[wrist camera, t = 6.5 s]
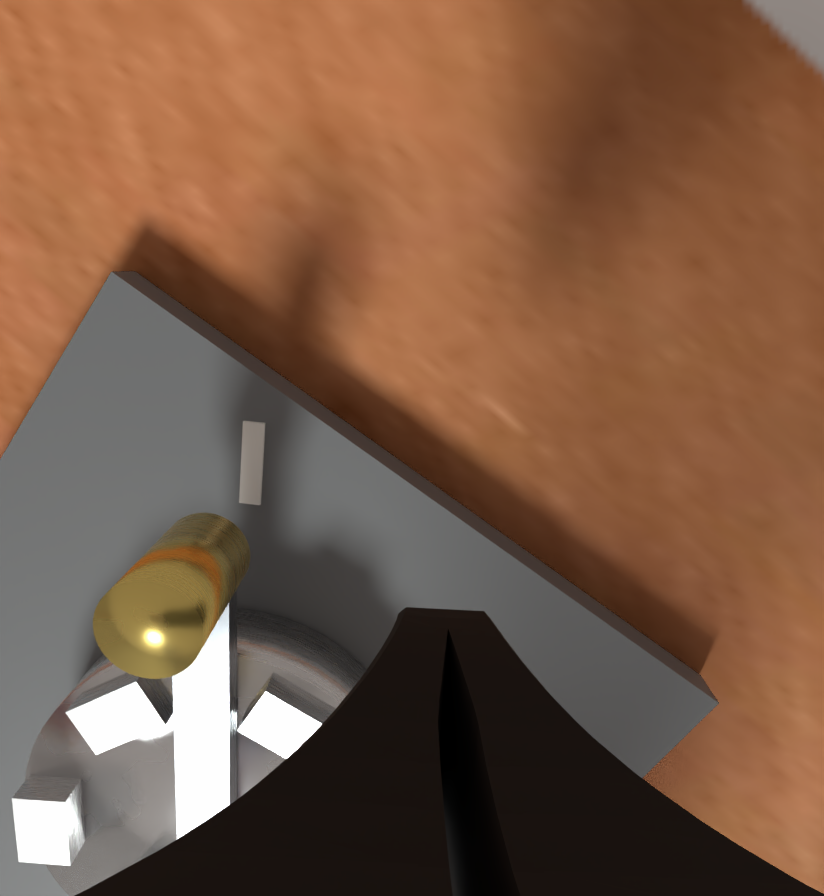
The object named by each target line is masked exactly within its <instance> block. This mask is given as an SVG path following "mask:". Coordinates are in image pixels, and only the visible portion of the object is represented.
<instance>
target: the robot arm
mask: <svg viewBox="0 0 824 896" xmlns="http://www.w3.org/2000/svg"><path fill="white" fill-rule="evenodd" d="M75 896H824V894H823V893H821V892H819V891H817V890H815V889H813V888H811V887H809V886H807V885H805V884H804V883H802V882H800V881H798V880H797V879H795V878H793V877H791V876H789V875H788V874H786V873H784V872H783V871H781V870H779V869H778V868H776V867H774V866H773V865H771V864H769V863H768V862H766V861H764V860H763V859H761V858H759V857H758V856H756V855H754V854H753V853H751V852H749V851H748V850H746V849H744V848H743V847H741V846H739V845H738V844H736V843H734V842H733V841H731V840H730V839H728V838H727V837H725V836H724V835H722V834H720V833H719V832H717V831H716V830H714V829H713V828H711V827H710V826H708V825H707V824H705V823H703V822H702V821H700V820H699V819H697V818H696V817H695V816H693V815H692V814H690V813H689V812H688V811H686V810H685V809H683V808H682V807H681V806H679V805H678V804H676V803H675V802H674V801H672V800H671V799H669V798H668V797H667V796H665V795H664V794H662V793H661V792H660V791H658V790H657V789H655V788H654V787H653V786H651V785H650V784H649V783H648V782H646V781H645V780H644V779H642V778H641V777H640V776H638V775H637V774H636V773H635V772H633V771H632V770H631V769H630V768H628V767H627V766H626V765H625V764H624V763H623V762H621V761H620V760H619V759H618V758H617V757H615V756H614V755H613V754H612V753H611V752H610V751H608V750H607V749H606V748H605V747H604V746H603V745H601V744H600V743H599V742H598V741H597V740H596V739H594V738H593V737H592V736H591V735H590V734H589V733H588V732H587V731H586V730H585V729H584V728H583V727H582V726H580V725H579V724H578V723H577V722H576V721H575V720H574V719H573V718H572V716H571V715H570V714H569V713H568V712H567V711H566V710H565V709H564V708H563V707H562V706H561V705H560V704H559V703H558V702H557V701H556V700H555V699H554V698H553V697H552V696H551V695H550V693H549V692H548V691H547V690H546V689H545V688H544V686H543V685H542V684H541V683H540V682H539V681H538V679H537V678H536V677H535V676H534V675H533V674H532V672H531V671H530V670H529V669H528V668H527V666H526V665H525V664H524V663H523V661H522V660H521V659H520V658H519V656H518V655H517V654H516V652H515V651H514V650H513V649H512V647H511V646H510V645H509V643H508V642H507V641H506V639H505V638H504V637H503V635H502V634H501V632H500V631H499V630H498V628H497V627H496V625H495V624H494V623H493V621H492V620H491V618H490V617H489V616H488V615H487V614H486V613H485V611H472V610H453V609H433V608H413V607H406V608H404V609H403V610H402V611H401V612H400V613H398V616H397V619H396V622H395V624H394V626H393V628H392V630H391V632H390V634H389V636H388V638H387V639H386V641H385V643H384V644H383V646H382V648H381V649H380V651H379V652H378V654H377V655H376V657H375V658H374V660H373V661H372V663H371V664H370V666H369V667H368V668H367V670H366V671H365V673H364V674H363V676H362V677H361V678H360V680H359V681H358V682H357V683H356V685H355V686H354V687H353V688H352V690H351V691H350V692H349V693H348V695H347V696H346V697H345V698H344V699H343V701H342V702H341V703H340V704H339V706H338V707H337V708H336V709H335V710H334V712H333V713H332V714H331V715H330V716H329V717H328V718H327V719H326V720H325V721H324V722H323V724H322V725H321V726H320V727H319V728H318V729H317V730H316V731H315V732H314V733H313V734H312V735H311V736H310V737H309V738H308V739H307V740H306V741H305V742H304V743H303V744H302V745H301V746H300V747H299V748H298V749H297V750H296V751H294V752H293V753H292V754H291V755H290V756H289V757H288V758H287V759H285V760H284V761H283V762H282V763H281V764H280V765H278V766H277V767H276V768H275V769H274V770H273V771H271V772H270V773H269V774H268V775H267V776H266V777H265V778H263V779H262V780H261V781H260V782H259V783H257V784H256V785H255V786H254V787H252V788H251V789H250V790H249V791H247V792H246V793H245V794H243V795H242V796H241V797H239V798H238V799H237V800H236V801H234V802H233V803H231V804H230V805H228V806H227V807H225V808H224V809H223V810H221V811H220V812H218V813H217V814H215V815H214V816H212V817H211V818H209V819H208V820H207V821H205V822H203V823H202V824H200V825H199V826H197V827H196V828H194V829H193V830H191V831H189V832H188V833H186V834H185V835H183V836H182V837H180V838H178V839H177V840H175V841H173V842H172V843H170V844H168V845H167V846H165V847H163V848H162V849H160V850H158V851H157V852H155V853H153V854H151V855H149V856H147V857H146V858H144V859H142V860H140V861H138V862H136V863H135V864H133V865H131V866H129V867H127V868H125V869H124V870H122V871H120V872H118V873H116V874H114V875H113V876H111V877H109V878H107V879H105V880H103V881H102V882H100V883H98V884H96V885H94V886H92V887H91V888H89V889H87V890H85V891H83V892H81V893H79V894H77V895H75Z"/></svg>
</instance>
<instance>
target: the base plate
mask: <svg viewBox="0 0 824 896" xmlns="http://www.w3.org/2000/svg"><path fill="white" fill-rule="evenodd" d="M194 513H212V514H216V515H219V516H222V517H224V518H226V519H228V520H229V521H231V522H232V523H234V524H235V525H236V526H237V527H238V528H239V529H240V530H241V531H242V533H243V534H244V536H245V538H246V540H247V542H248V545H249V549H250V564H249V568H248V570H247V572H246V574H245V576H244V578H243V579H242V581H241V583H240V585H239V586H238V588H237V609H244V610H251V611H259V612H263V613H267V614H271V615H275V616H279V617H283V618H286V619H288V620H291V621H293V622H296V623H299V624H301V625H304V626H306V627H308V628H310V629H312V630H314V631H316V632H318V633H320V634H321V635H323V636H325V637H327V638H328V639H330V640H331V641H333V642H334V643H336V644H337V645H338V646H340V647H341V648H343V649H344V650H346V651H347V652H348V653H349V654H350V655H351V656H352V657H353V658H355V659H356V660H357V661H358V662H359V663H360V664H361V665H362V666H363V667H364V668H365V669H366V670H367V668H368V667H369V666H370V664H371V663H372V661H373V660H374V658H375V657H376V655H377V654H378V652H379V651H380V649H381V648H382V646H383V644H384V643H385V641H386V639H387V638H388V636H389V634H390V632H391V630H392V628H393V626H394V624H395V622H396V619H397V616H398V613H400V612H401V611H402V610H403V609H404V608H406V607H413V608H433V609H453V610H472V611H485V613H486V614H487V615H488V616H489V617H490V618H491V620H492V621H493V623H494V624H495V625H496V627H497V628H498V630H499V631H500V632H501V634H502V635H503V637H504V638H505V639H506V641H507V642H508V643H509V645H510V646H511V647H512V649H513V650H514V651H515V652H516V654H517V655H518V656H519V658H520V659H521V660H522V661H523V663H524V664H525V665H526V666H527V668H528V669H529V670H530V671H531V672H532V674H533V675H534V676H535V677H536V678H537V679H538V681H539V682H540V683H541V684H542V685H543V686H544V688H545V689H546V690H547V691H548V692H549V693H550V695H551V696H552V697H553V698H554V699H555V700H556V701H557V702H558V703H559V704H560V705H561V706H562V707H563V708H564V709H565V710H566V711H567V712H568V713H569V714H570V715H571V716H572V718H573V719H574V720H575V721H576V722H577V723H578V724H579V725H580V726H582V727H583V728H584V729H585V730H586V731H587V732H588V733H589V734H590V735H591V736H592V737H593V738H594V739H596V740H597V741H598V742H599V743H600V744H601V745H603V746H604V747H605V748H606V749H607V750H608V751H610V752H611V753H612V754H613V755H614V756H615V757H617V758H618V759H619V760H620V761H621V762H623V763H624V764H625V765H626V766H627V767H628V768H630V769H631V770H632V771H633V772H635V773H636V774H637V775H638V776H640V777H641V778H643V777H644V776H645V775H646V774H647V773H648V772H649V771H650V770H651V769H652V768H653V767H654V766H655V765H656V764H657V763H658V762H659V761H660V760H661V759H662V758H663V757H664V756H665V755H666V754H667V753H668V752H669V751H670V750H671V749H673V748H674V747H675V746H676V745H677V744H678V743H679V742H680V741H681V740H682V739H683V738H684V737H685V736H686V735H687V734H688V733H689V732H690V731H691V730H692V729H693V728H694V727H695V726H696V725H697V724H698V723H699V722H700V721H701V720H702V719H703V718H704V717H705V716H706V715H707V714H708V713H709V712H710V711H711V710H712V709H713V708H715V707H716V706H717V705H718V704H719V702H718V701H717V699H716V698H715V696H714V695H713V693H712V692H711V690H710V689H709V687H708V686H707V684H706V683H705V681H704V680H703V678H702V677H701V675H699V674H698V673H697V672H695V671H694V670H692V669H691V668H690V667H688V666H687V665H685V664H684V663H683V662H681V661H680V660H678V659H677V658H676V657H674V656H673V655H671V654H670V653H669V652H667V651H666V650H664V649H663V648H662V647H660V646H659V645H657V644H656V643H655V642H653V641H652V640H650V639H649V638H648V637H646V636H645V635H643V634H642V633H641V632H639V631H638V630H636V629H635V628H634V627H632V626H631V625H629V624H628V623H627V622H625V621H624V620H622V619H621V618H620V617H618V616H617V615H615V614H614V613H613V612H611V611H610V610H608V609H607V608H606V607H604V606H603V605H601V604H600V603H599V602H597V601H596V600H594V599H593V598H592V597H590V596H589V595H587V594H586V593H585V592H583V591H582V590H580V589H579V588H578V587H576V586H575V585H573V584H572V583H571V582H569V581H568V580H566V579H565V578H564V577H562V576H561V575H559V574H558V573H557V572H555V571H554V570H552V569H551V568H550V567H548V566H547V565H545V564H544V563H543V562H541V561H540V560H538V559H537V558H536V557H534V556H533V555H531V554H530V553H529V552H527V551H526V550H524V549H523V548H522V547H520V546H519V545H517V544H516V543H515V542H513V541H512V540H510V539H509V538H508V537H506V536H505V535H503V534H502V533H501V532H499V531H498V530H496V529H495V528H494V527H492V526H491V525H489V524H488V523H487V522H485V521H484V520H482V519H481V518H480V517H478V516H477V515H475V514H474V513H473V512H471V511H470V510H468V509H467V508H466V507H464V506H463V505H461V504H460V503H459V502H457V501H456V500H454V499H453V498H452V497H450V496H449V495H447V494H446V493H445V492H443V491H442V490H440V489H439V488H438V487H436V486H435V485H433V484H432V483H431V482H429V481H428V480H426V479H425V478H424V477H422V476H421V475H419V474H418V473H417V472H415V471H414V470H412V469H411V468H410V467H408V466H407V465H405V464H404V463H403V462H401V461H400V460H398V459H397V458H396V457H394V456H393V455H391V454H390V453H389V452H387V451H386V450H384V449H383V448H382V447H380V446H379V445H377V444H376V443H375V442H373V441H372V440H370V439H369V438H368V437H366V436H365V435H363V434H362V433H361V432H359V431H358V430H356V429H355V428H354V427H352V426H351V425H349V424H348V423H347V422H345V421H344V420H342V419H341V418H340V417H338V416H337V415H335V414H334V413H333V412H331V411H330V410H328V409H327V408H326V407H324V406H323V405H321V404H320V403H319V402H317V401H316V400H314V399H313V398H312V397H310V396H309V395H307V394H306V393H305V392H303V391H302V390H300V389H299V388H298V387H296V386H295V385H293V384H292V383H291V382H289V381H288V380H286V379H285V378H284V377H282V376H281V375H279V374H278V373H277V372H275V371H274V370H272V369H271V368H270V367H268V366H267V365H265V364H264V363H263V362H261V361H260V360H258V359H257V358H256V357H254V356H253V355H251V354H250V353H249V352H247V351H246V350H244V349H243V348H242V347H240V346H239V345H237V344H236V343H235V342H233V341H232V340H230V339H229V338H228V337H226V336H225V335H223V334H222V333H221V332H219V331H218V330H216V329H215V328H214V327H212V326H211V325H209V324H208V323H207V322H205V321H204V320H202V319H201V318H200V317H198V316H197V315H195V314H194V313H193V312H191V311H190V310H188V309H187V308H186V307H184V306H183V305H181V304H180V303H179V302H177V301H176V300H174V299H173V298H172V297H170V296H169V295H167V294H166V293H165V292H163V291H162V290H160V289H159V288H158V287H156V286H155V285H153V284H152V283H151V282H149V281H148V280H146V279H145V278H144V277H142V276H141V275H139V274H138V273H137V272H135V271H122V272H111V273H110V275H109V277H108V278H107V280H106V282H105V283H104V285H103V287H102V289H101V290H100V292H99V294H98V295H97V297H96V299H95V300H94V302H93V304H92V305H91V307H90V309H89V311H88V312H87V314H86V316H85V317H84V319H83V321H82V322H81V324H80V326H79V327H78V329H77V331H76V333H75V334H74V336H73V338H72V339H71V341H70V343H69V344H68V346H67V348H66V349H65V351H64V353H63V354H62V356H61V358H60V360H59V361H58V363H57V365H56V366H55V368H54V370H53V371H52V373H51V375H50V376H49V378H48V380H47V382H46V383H45V385H44V387H43V388H42V390H41V392H40V393H39V395H38V397H37V398H36V400H35V402H34V403H33V405H32V407H31V409H30V410H29V412H28V414H27V415H26V417H25V419H24V420H23V422H22V424H21V425H20V427H19V429H18V431H17V432H16V434H15V436H14V437H13V439H12V441H11V442H10V444H9V446H8V447H7V449H6V451H5V452H4V454H3V456H2V458H1V459H0V896H69V895H68V894H67V893H66V892H65V891H64V890H63V888H62V887H61V886H60V885H59V884H58V883H57V882H56V880H55V879H54V877H53V876H52V874H51V873H50V871H49V870H48V868H47V867H46V866H45V864H39V863H26V862H19V860H18V851H17V841H16V832H15V823H14V814H13V805H12V797H13V796H14V795H15V793H16V792H17V791H18V790H19V788H20V787H21V786H22V784H23V783H24V782H25V776H26V768H27V764H28V760H29V757H30V754H31V751H32V748H33V745H34V743H35V741H36V739H37V737H38V735H39V733H40V731H41V729H42V727H43V726H44V725H45V723H46V722H47V721H48V719H49V718H50V717H51V715H52V714H53V713H54V711H55V710H56V709H57V707H58V706H59V705H60V704H61V703H62V702H63V700H64V699H65V698H66V697H67V696H68V694H69V693H70V692H71V691H72V690H73V688H74V687H75V686H76V685H77V684H78V682H79V681H80V680H81V679H82V678H83V676H84V675H85V674H86V673H87V672H88V670H89V669H90V668H91V667H92V666H93V664H94V663H95V662H96V661H97V660H98V659H99V658H100V657H101V656H102V655H103V653H102V651H101V649H100V648H99V646H98V644H97V642H96V639H95V636H94V632H93V616H94V612H95V609H96V607H97V605H98V603H99V601H100V600H101V598H102V597H103V596H104V595H105V594H106V593H107V592H108V591H109V590H110V589H111V588H112V587H113V586H114V585H115V584H116V583H117V582H118V581H119V580H120V579H121V578H122V577H123V576H124V575H125V574H126V573H127V572H128V571H129V569H130V568H131V567H132V566H133V565H134V564H135V563H136V562H137V561H138V560H139V559H140V558H141V557H142V556H143V555H144V554H145V553H146V552H147V551H148V550H149V549H150V548H151V547H152V546H153V545H154V544H155V543H156V542H157V541H158V540H159V539H160V538H161V537H162V536H163V535H164V534H165V533H166V532H167V531H168V530H169V529H170V528H171V527H172V526H173V525H174V524H175V523H176V522H177V521H178V520H179V519H181V518H183V517H185V516H187V515H190V514H194Z"/></svg>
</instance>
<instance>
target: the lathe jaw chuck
mask: <svg viewBox="0 0 824 896" xmlns="http://www.w3.org/2000/svg"><path fill="white" fill-rule="evenodd" d="M249 564H250V549H249V545H248V542H247V540H246V538H245V536H244V534H243V533H242V531H241V530H240V529H239V528H238V527H237V526H236V525H235V524H234V523H232V522H231V521H229V520H228V519H226V518H224V517H222V516H219V515H216V514H212V513H194V514H190V515H187V516H185V517H183V518H181V519H179V520H178V521H177V522H176V523H175V524H174V525H173V526H172V527H171V528H170V529H169V530H168V531H167V532H166V533H165V534H164V535H163V536H162V537H161V538H160V539H159V540H158V541H157V542H156V543H155V544H154V545H153V546H152V547H151V548H150V549H149V550H148V551H147V552H146V553H145V554H144V555H143V556H142V557H141V558H140V559H139V560H138V561H137V562H136V563H135V564H134V565H133V566H132V567H131V568H130V569H129V571H128V572H127V573H126V574H125V575H124V576H123V577H122V578H121V579H120V580H119V581H118V582H117V583H116V584H115V585H114V586H113V587H112V588H111V589H110V590H109V591H108V592H107V593H106V594H105V595H104V596H103V597H102V598H101V600H100V601H99V603H98V605H97V607H96V609H95V612H94V616H93V632H94V636H95V639H96V642H97V644H98V646H99V648H100V649H101V651H102V653H103V655H102V656H101V657H100V658H99V659H98V660H97V661H96V662H95V663H94V664H93V666H92V667H91V668H90V669H89V670H88V672H87V673H86V674H85V675H84V676H83V678H82V679H81V680H80V681H79V682H78V684H77V685H76V686H75V687H74V688H73V690H72V691H71V692H70V693H69V694H68V696H67V697H66V698H65V699H64V700H63V702H62V703H61V704H60V705H59V706H58V707H57V709H56V710H55V711H54V713H53V714H52V715H51V717H50V718H49V719H48V721H47V722H46V723H45V725H44V726H43V727H42V729H41V731H40V733H39V735H38V737H37V739H36V741H35V743H34V745H33V748H32V751H31V754H30V757H29V760H28V764H27V768H26V776H25V782H24V783H23V784H22V786H21V787H20V788H19V790H18V791H17V792H16V793H15V795H14V796H13V797H12V805H13V814H14V823H15V832H16V841H17V851H18V860H19V862H26V863H39V864H45V866H46V867H47V868H48V870H49V871H50V873H51V874H52V876H53V877H54V879H55V880H56V882H57V883H58V884H59V885H60V886H61V887H62V888H63V890H64V891H65V892H66V893H67V894H68V895H69V896H75V895H77V894H79V893H81V892H83V891H85V890H87V889H89V888H91V887H92V886H94V885H96V884H98V883H100V882H102V881H103V880H105V879H107V878H109V877H111V876H113V875H114V874H116V873H118V872H120V871H122V870H124V869H125V868H127V867H129V866H131V865H133V864H135V863H136V862H138V861H140V860H142V859H144V858H146V857H147V856H149V855H151V854H153V853H155V852H157V851H158V850H160V849H162V848H163V847H165V846H167V845H168V844H170V843H172V842H173V841H175V840H177V839H178V838H180V837H182V836H183V835H185V834H186V833H188V832H189V831H191V830H193V829H194V828H196V827H197V826H199V825H200V824H202V823H203V822H205V821H207V820H208V819H209V818H211V817H212V816H214V815H215V814H217V813H218V812H220V811H221V810H223V809H224V808H225V807H227V806H228V805H230V804H231V803H233V802H234V801H236V800H237V799H238V798H239V797H241V796H242V795H243V794H245V793H246V792H247V791H249V790H250V789H251V788H252V787H254V786H255V785H256V784H257V783H259V782H260V781H261V780H262V779H263V778H265V777H266V776H267V775H268V774H269V773H270V772H271V771H273V770H274V769H275V768H276V767H277V766H278V765H280V764H281V763H282V762H283V761H284V760H285V759H287V758H288V757H289V756H290V755H291V754H292V753H293V752H294V751H296V750H297V749H298V748H299V747H300V746H301V745H302V744H303V743H304V742H305V741H306V740H307V739H308V738H309V737H310V736H311V735H312V734H313V733H314V732H315V731H316V730H317V729H318V728H319V727H320V726H321V725H322V724H323V722H324V721H325V720H326V719H327V718H328V717H329V716H330V715H331V714H332V713H333V712H334V710H335V709H336V708H337V707H338V706H339V704H340V703H341V702H342V701H343V699H344V698H345V697H346V696H347V695H348V693H349V692H350V691H351V690H352V688H353V687H354V686H355V685H356V683H357V682H358V681H359V680H360V678H361V677H362V676H363V674H364V673H365V671H366V669H365V668H364V667H363V666H362V665H361V664H360V663H359V662H358V661H357V660H356V659H355V658H353V657H352V656H351V655H350V654H349V653H348V652H347V651H346V650H344V649H343V648H341V647H340V646H338V645H337V644H336V643H334V642H333V641H331V640H330V639H328V638H327V637H325V636H323V635H321V634H320V633H318V632H316V631H314V630H312V629H310V628H308V627H306V626H304V625H301V624H299V623H296V622H293V621H291V620H288V619H286V618H283V617H279V616H275V615H271V614H267V613H263V612H259V611H251V610H244V609H237V588H238V586H239V585H240V583H241V581H242V579H243V578H244V576H245V574H246V572H247V570H248V568H249Z"/></svg>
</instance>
